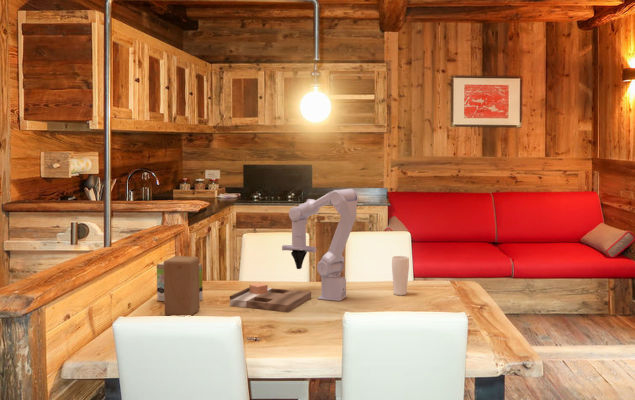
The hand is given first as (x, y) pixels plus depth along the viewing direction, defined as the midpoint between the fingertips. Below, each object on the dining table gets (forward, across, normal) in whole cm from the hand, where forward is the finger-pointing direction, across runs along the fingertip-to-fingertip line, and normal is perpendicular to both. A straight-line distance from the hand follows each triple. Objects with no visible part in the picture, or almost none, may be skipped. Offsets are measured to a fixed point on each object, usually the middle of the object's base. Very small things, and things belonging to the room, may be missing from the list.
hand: (299, 268), depth 266 cm
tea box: (+10, +37, +31) cm, 49 cm away
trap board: (+9, +2, +20) cm, 22 cm away
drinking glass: (+10, -40, -10) cm, 42 cm away
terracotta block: (+7, +10, +17) cm, 21 cm away
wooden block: (+10, +26, +46) cm, 54 cm away
